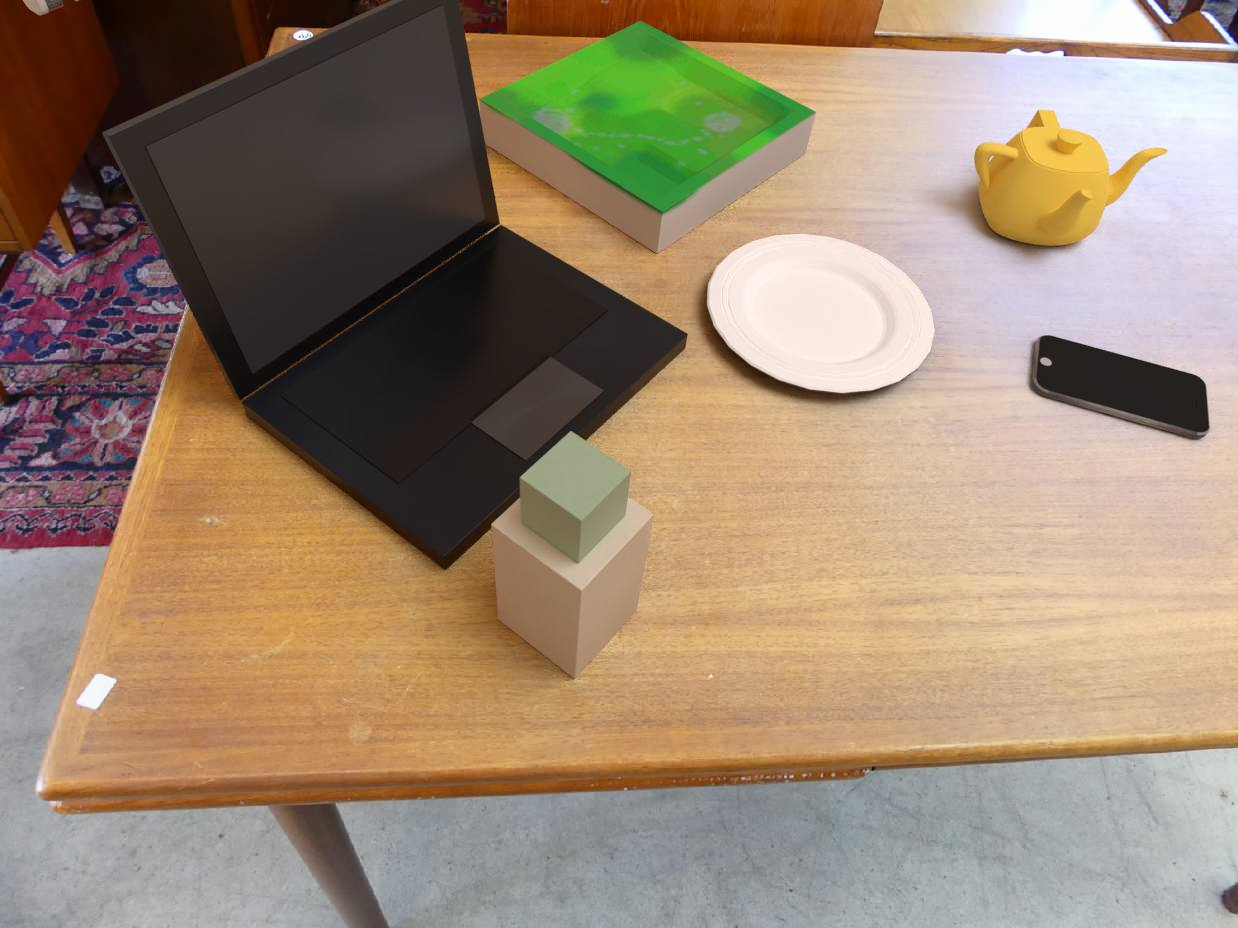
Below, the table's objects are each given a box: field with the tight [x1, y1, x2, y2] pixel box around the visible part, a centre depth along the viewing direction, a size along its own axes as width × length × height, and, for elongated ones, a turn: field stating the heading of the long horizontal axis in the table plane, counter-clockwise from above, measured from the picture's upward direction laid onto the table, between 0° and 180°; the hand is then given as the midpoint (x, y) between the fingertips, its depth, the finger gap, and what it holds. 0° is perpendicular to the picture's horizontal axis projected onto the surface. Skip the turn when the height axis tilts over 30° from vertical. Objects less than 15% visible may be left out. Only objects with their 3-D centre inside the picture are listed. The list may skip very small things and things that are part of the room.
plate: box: [706, 233, 936, 395], centre depth 84 cm, size 21×21×2 cm
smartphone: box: [1031, 334, 1210, 439], centre depth 82 cm, size 8×1×15 cm
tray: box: [479, 20, 817, 255], centre depth 98 cm, size 25×25×5 cm
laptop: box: [241, 224, 689, 570], centre depth 77 cm, size 22×30×2 cm
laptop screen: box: [102, 0, 501, 402], centre depth 72 cm, size 22×30×1 cm
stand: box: [490, 496, 655, 679], centre depth 60 cm, size 7×7×12 cm
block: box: [520, 431, 632, 563], centre depth 53 cm, size 4×4×4 cm
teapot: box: [973, 109, 1169, 247], centre depth 93 cm, size 14×13×10 cm
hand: (64, 1), depth 54 cm, fingers closed
